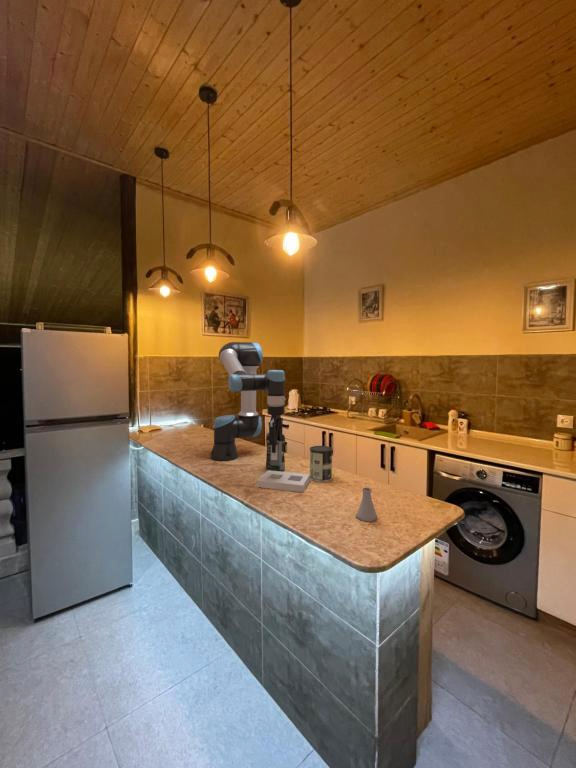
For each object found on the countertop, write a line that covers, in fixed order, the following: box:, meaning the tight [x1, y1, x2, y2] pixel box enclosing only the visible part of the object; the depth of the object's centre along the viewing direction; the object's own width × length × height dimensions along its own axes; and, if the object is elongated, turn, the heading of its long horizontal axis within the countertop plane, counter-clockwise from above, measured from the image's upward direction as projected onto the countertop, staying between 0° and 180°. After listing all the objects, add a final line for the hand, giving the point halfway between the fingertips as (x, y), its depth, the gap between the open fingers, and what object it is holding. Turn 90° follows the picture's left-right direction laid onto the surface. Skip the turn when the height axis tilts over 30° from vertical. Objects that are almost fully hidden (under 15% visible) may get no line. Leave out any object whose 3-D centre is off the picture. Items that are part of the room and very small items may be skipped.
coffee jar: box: [265, 432, 286, 472], centre depth 163 cm, size 10×8×19 cm
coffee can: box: [309, 445, 333, 483], centre depth 151 cm, size 10×10×14 cm
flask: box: [355, 486, 378, 523], centre depth 113 cm, size 7×7×10 cm
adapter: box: [270, 441, 282, 466], centre depth 144 cm, size 4×4×10 cm
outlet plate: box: [256, 469, 311, 493], centre depth 144 cm, size 14×20×3 cm
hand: (276, 458), depth 144 cm, fingers closed on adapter, 4 cm apart
